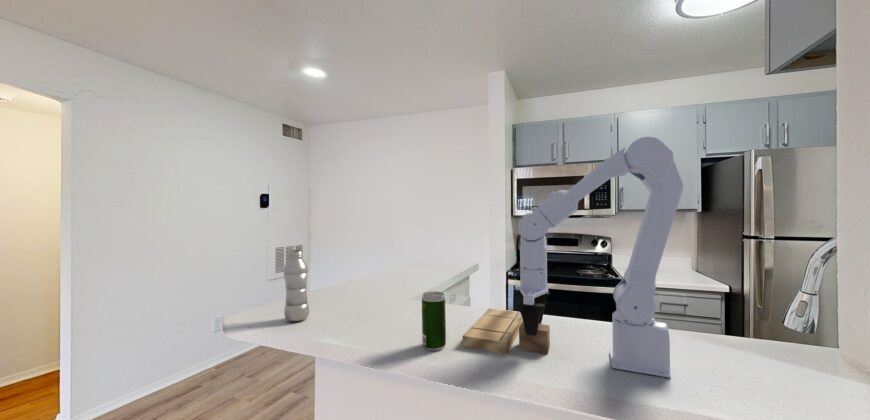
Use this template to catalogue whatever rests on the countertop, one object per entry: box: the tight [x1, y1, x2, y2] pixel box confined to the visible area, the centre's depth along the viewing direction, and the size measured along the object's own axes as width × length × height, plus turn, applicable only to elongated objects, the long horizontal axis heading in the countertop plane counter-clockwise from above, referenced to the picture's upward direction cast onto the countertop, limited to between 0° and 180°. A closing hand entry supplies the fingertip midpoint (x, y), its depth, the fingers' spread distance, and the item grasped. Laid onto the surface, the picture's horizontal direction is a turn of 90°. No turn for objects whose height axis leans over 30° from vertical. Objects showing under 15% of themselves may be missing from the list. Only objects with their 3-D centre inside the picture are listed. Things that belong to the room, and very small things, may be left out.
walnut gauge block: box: [518, 322, 551, 355], centre depth 74 cm, size 6×4×5 cm, turn 65°
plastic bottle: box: [282, 249, 310, 322], centre depth 95 cm, size 6×7×20 cm
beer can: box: [421, 291, 447, 352], centre depth 75 cm, size 5×5×12 cm
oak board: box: [462, 308, 523, 355], centre depth 83 cm, size 10×22×3 cm, turn 155°
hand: (534, 328), depth 74 cm, fingers open, 7 cm apart
